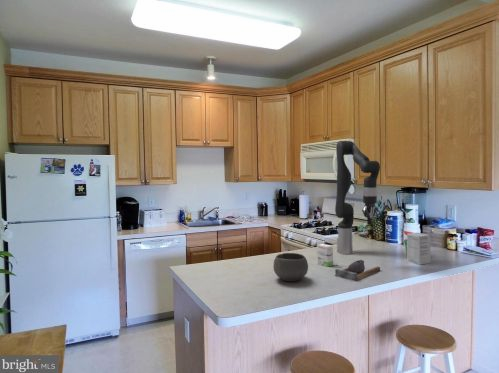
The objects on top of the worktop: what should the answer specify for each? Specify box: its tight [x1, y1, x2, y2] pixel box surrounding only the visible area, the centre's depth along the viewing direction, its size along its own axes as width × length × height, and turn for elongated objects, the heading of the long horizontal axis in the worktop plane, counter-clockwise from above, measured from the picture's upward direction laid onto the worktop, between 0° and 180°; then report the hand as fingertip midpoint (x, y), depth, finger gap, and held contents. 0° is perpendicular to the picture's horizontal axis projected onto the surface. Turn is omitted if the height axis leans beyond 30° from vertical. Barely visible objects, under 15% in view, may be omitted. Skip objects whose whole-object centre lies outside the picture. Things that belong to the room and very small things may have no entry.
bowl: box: [273, 252, 309, 282], centre depth 178 cm, size 18×18×13 cm
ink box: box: [316, 243, 334, 267], centre depth 203 cm, size 9×5×12 cm, turn 34°
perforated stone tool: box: [346, 259, 366, 275], centre depth 183 cm, size 15×5×7 cm, turn 129°
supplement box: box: [406, 232, 432, 266], centre depth 203 cm, size 10×9×17 cm
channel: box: [334, 266, 381, 282], centre depth 185 cm, size 12×25×4 cm, turn 131°
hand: (369, 224), depth 200 cm, fingers closed
